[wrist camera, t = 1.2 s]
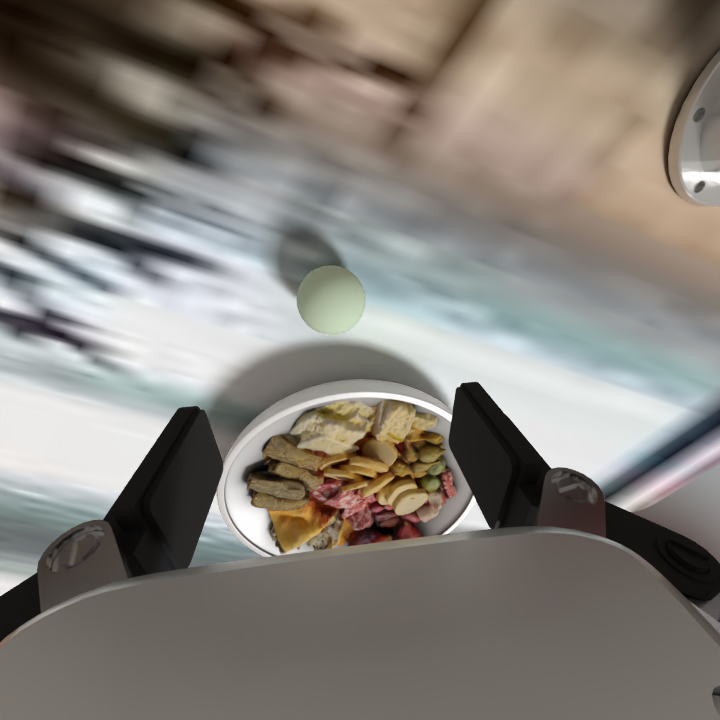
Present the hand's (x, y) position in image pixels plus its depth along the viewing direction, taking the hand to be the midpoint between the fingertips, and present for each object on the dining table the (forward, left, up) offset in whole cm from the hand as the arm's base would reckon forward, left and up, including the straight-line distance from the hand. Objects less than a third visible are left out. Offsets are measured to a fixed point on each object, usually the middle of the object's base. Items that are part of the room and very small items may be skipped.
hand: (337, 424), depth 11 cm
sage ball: (0, 0, -15) cm, 15 cm away
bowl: (-1, +23, -19) cm, 30 cm away
